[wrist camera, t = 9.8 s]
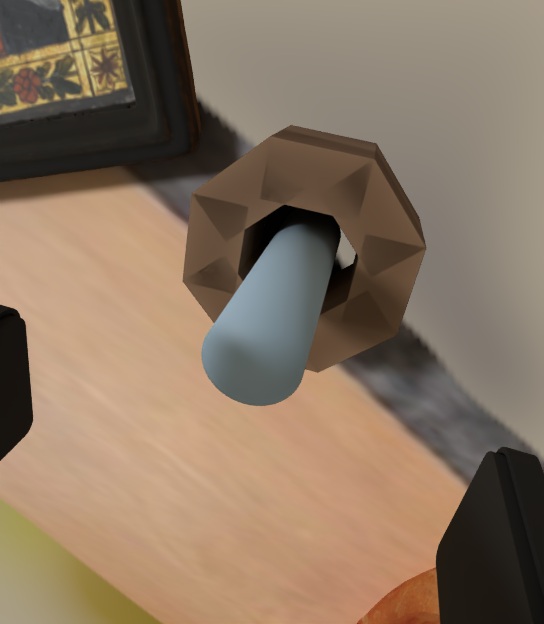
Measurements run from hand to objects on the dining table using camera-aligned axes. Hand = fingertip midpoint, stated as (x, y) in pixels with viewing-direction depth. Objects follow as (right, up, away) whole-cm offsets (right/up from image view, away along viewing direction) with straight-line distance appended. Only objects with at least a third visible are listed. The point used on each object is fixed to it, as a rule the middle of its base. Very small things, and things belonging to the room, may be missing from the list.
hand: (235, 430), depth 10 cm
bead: (+3, +6, +14) cm, 15 cm away
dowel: (+3, +6, +14) cm, 15 cm away
